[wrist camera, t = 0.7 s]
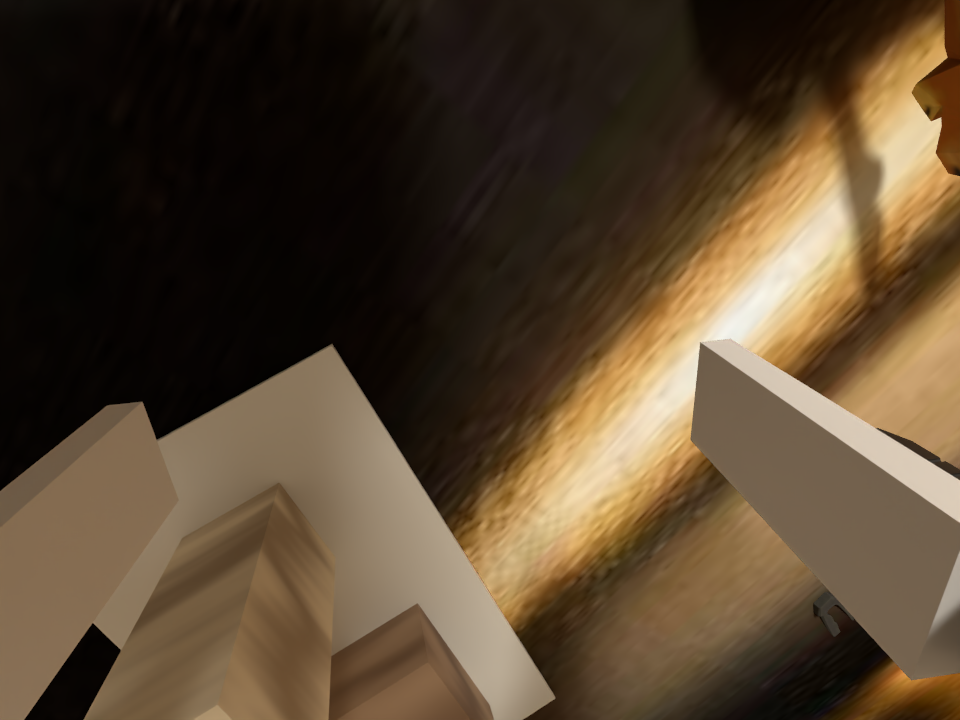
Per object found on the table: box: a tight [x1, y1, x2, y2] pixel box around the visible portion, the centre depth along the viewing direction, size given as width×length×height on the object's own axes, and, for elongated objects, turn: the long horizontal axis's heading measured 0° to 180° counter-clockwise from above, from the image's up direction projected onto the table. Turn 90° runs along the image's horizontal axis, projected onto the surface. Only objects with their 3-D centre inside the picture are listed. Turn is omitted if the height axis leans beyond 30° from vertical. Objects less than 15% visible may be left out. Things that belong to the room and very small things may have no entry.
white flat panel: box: [93, 344, 555, 720], centre depth 27 cm, size 26×16×1 cm, turn 28°
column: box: [84, 483, 336, 720], centre depth 19 cm, size 5×5×12 cm
